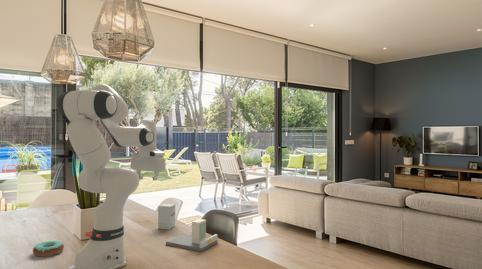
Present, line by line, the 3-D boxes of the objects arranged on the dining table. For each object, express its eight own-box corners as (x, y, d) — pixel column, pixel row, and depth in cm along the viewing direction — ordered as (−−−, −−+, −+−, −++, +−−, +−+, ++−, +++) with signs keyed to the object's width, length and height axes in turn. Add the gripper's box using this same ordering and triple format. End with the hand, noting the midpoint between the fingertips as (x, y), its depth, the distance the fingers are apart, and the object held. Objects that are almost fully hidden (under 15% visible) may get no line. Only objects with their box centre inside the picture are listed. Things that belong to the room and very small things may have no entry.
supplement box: (170, 229, 184) (170, 206, 184) (157, 228, 186) (157, 205, 185) (175, 226, 191) (175, 203, 191) (163, 225, 193) (163, 203, 193)
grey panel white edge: (202, 251, 151) (202, 242, 151) (165, 244, 160) (166, 236, 160) (217, 242, 163) (217, 234, 163) (183, 236, 172) (183, 228, 172)
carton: (198, 239, 164) (198, 218, 164) (206, 240, 162) (206, 219, 162) (191, 242, 158) (191, 221, 158) (199, 244, 156) (199, 222, 156)
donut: (56, 246, 157) (56, 237, 157) (68, 252, 150) (69, 243, 150) (28, 253, 147) (28, 244, 147) (39, 260, 140) (39, 250, 140)
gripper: (127, 152, 173) (127, 179, 173) (159, 153, 164) (159, 181, 164) (136, 151, 178) (136, 177, 179) (167, 152, 169) (167, 180, 169)
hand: (147, 179), depth 171 cm, fingers open, 8 cm apart
